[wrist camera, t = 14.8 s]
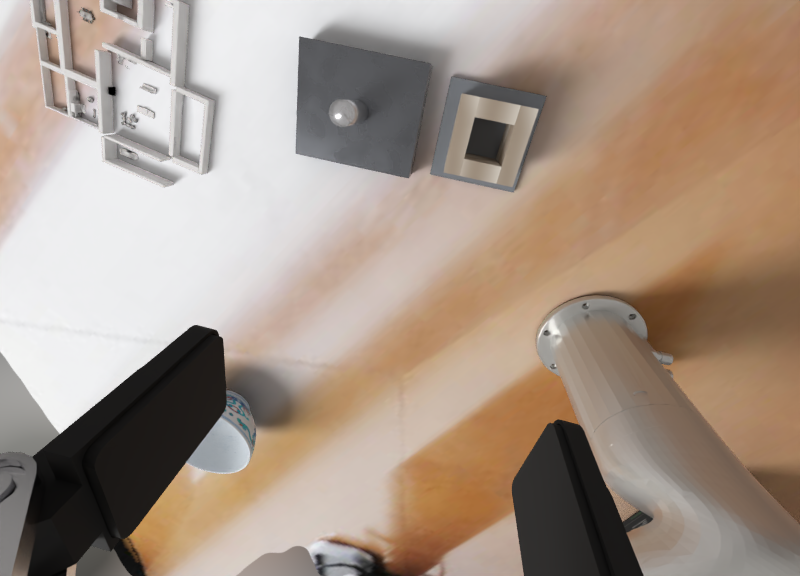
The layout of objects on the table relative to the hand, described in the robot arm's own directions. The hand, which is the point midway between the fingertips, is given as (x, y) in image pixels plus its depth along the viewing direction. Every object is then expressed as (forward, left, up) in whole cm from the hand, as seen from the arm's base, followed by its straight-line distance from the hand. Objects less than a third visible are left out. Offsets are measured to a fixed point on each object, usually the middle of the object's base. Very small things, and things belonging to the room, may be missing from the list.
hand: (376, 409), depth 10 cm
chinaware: (+26, +43, -32) cm, 60 cm away
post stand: (+9, -6, -32) cm, 33 cm away
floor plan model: (+31, -3, -32) cm, 45 cm away
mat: (-4, -6, -32) cm, 32 cm away
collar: (-4, -6, -31) cm, 32 cm away
